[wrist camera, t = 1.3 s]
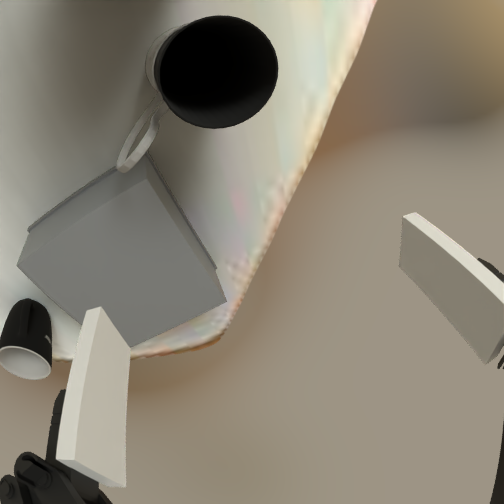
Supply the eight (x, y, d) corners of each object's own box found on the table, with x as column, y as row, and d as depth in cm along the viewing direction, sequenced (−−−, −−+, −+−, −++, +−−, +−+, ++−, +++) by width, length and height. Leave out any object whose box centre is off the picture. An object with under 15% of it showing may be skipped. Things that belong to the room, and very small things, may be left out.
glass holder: (243, 61, 28) (311, 75, 17) (154, 151, 32) (166, 220, 21) (188, 10, 23) (224, -20, 12) (95, 108, 26) (63, 154, 15)
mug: (54, 333, 42) (51, 384, 35) (9, 323, 37) (0, 373, 30) (59, 285, 37) (52, 341, 30) (7, 272, 32) (-10, 326, 25)
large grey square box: (29, 225, 31) (13, 265, 25) (146, 147, 31) (147, 174, 25) (115, 314, 45) (118, 354, 39) (215, 263, 45) (229, 301, 40)
